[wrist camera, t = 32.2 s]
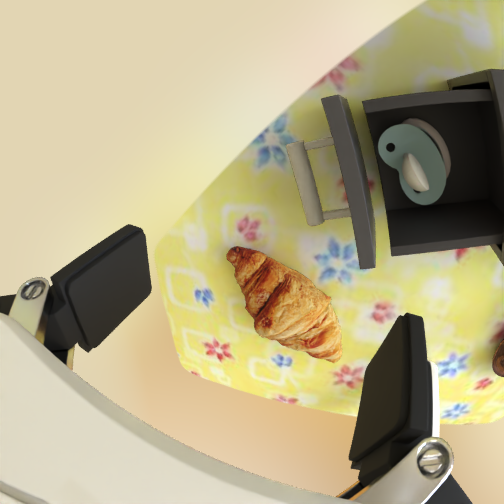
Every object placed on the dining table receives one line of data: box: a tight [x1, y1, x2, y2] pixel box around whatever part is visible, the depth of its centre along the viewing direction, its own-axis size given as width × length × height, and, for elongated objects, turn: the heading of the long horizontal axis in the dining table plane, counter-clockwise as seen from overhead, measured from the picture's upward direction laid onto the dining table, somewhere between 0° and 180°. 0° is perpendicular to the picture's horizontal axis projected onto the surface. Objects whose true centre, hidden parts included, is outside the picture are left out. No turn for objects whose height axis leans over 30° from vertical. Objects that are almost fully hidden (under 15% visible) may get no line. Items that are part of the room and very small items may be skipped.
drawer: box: [286, 89, 504, 269], centre depth 19 cm, size 19×12×9 cm, turn 110°
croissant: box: [226, 246, 342, 363], centre depth 34 cm, size 21×10×8 cm, turn 49°
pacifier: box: [378, 118, 451, 205], centre depth 18 cm, size 7×6×6 cm
